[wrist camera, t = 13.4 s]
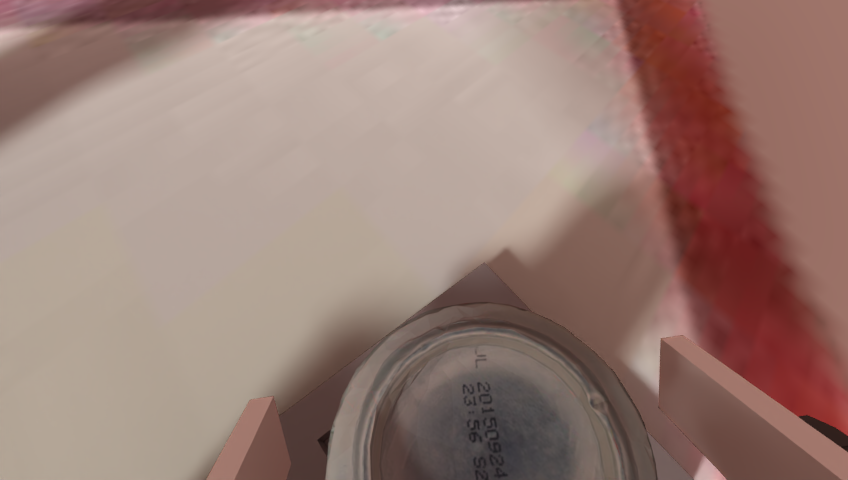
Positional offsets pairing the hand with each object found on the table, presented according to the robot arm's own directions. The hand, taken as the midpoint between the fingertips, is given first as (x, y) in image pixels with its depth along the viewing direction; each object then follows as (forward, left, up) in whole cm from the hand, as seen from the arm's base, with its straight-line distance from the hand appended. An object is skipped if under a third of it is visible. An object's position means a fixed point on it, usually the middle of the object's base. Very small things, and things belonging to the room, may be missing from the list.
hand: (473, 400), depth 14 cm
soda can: (+1, -1, -7) cm, 7 cm away
